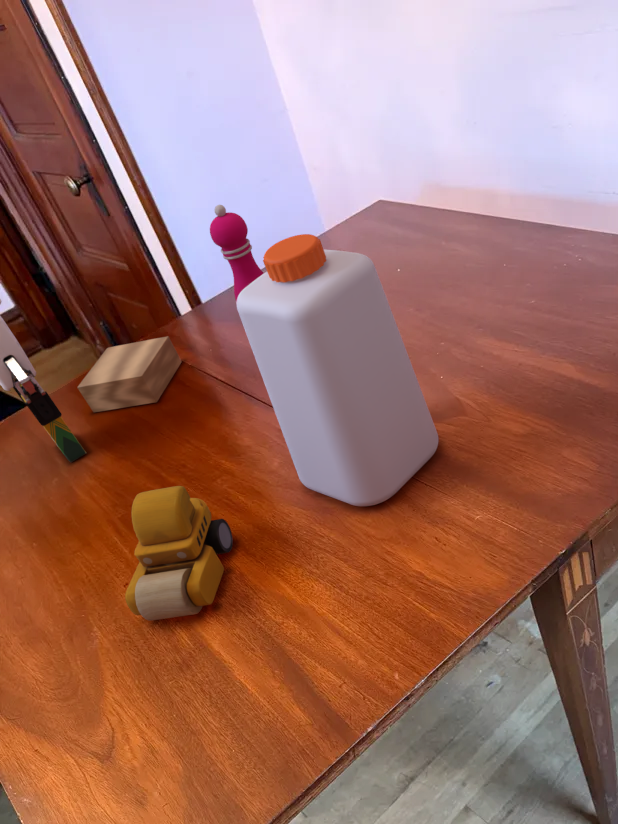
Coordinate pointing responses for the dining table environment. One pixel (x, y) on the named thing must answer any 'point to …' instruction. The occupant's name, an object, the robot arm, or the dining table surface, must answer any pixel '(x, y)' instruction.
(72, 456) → the crayon box
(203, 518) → the toy roller
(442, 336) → the dining table surface
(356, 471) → the plastic bottle
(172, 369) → the maple block
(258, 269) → the pepper mill
